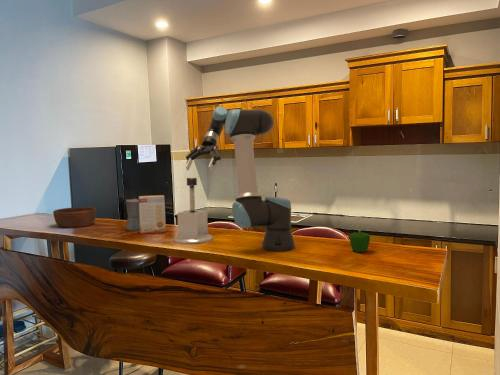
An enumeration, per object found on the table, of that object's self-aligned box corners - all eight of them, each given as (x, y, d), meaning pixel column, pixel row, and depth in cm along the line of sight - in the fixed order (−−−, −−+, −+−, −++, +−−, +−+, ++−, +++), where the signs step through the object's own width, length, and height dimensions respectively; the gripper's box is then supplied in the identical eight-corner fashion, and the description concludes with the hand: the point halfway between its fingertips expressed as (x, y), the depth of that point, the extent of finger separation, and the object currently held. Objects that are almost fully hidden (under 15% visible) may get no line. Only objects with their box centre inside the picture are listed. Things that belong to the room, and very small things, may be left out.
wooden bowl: (75, 221, 251) (74, 206, 251) (105, 222, 244) (104, 207, 243) (44, 228, 228) (43, 211, 227) (76, 229, 220) (76, 212, 219)
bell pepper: (354, 248, 167) (354, 226, 166) (372, 250, 161) (372, 228, 161) (346, 251, 160) (346, 229, 159) (364, 254, 155) (364, 231, 154)
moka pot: (141, 231, 212) (140, 197, 210) (117, 230, 215) (115, 196, 213) (149, 228, 221) (147, 195, 219) (125, 227, 224) (124, 195, 222)
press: (219, 236, 195) (218, 209, 194) (201, 245, 176) (200, 215, 175) (185, 234, 202) (185, 208, 200) (165, 242, 183) (164, 213, 182)
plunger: (203, 219, 190) (202, 177, 189) (196, 222, 183) (195, 178, 181) (189, 218, 193) (188, 177, 192) (181, 221, 185) (180, 178, 184)
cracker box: (165, 230, 213) (164, 194, 212) (165, 232, 208) (164, 195, 206) (140, 232, 210) (139, 195, 208) (140, 234, 204) (138, 196, 202)
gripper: (232, 145, 205) (222, 173, 193) (193, 146, 214) (180, 173, 201) (228, 135, 200) (217, 163, 187) (188, 137, 209) (175, 163, 196)
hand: (198, 168), depth 194 cm, fingers open, 13 cm apart
